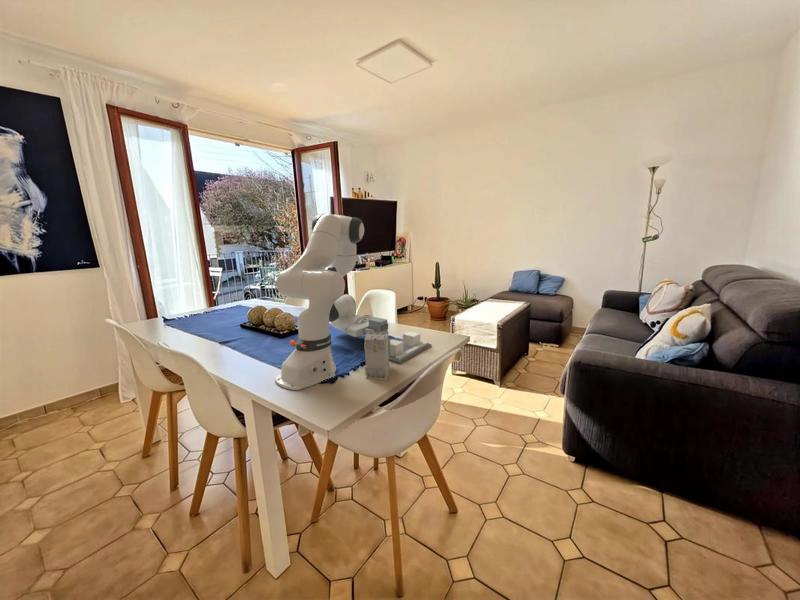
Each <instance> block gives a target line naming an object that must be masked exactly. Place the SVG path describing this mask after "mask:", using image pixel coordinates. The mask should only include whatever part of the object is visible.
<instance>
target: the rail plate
mask: <svg viewBox="0 0 800 600" xmlns="http://www.w3.org/2000/svg"><path fill="white" fill-rule="evenodd" d="M430 346H431V347H432V343H429V341H425V340H424V341H421V333H419V332H413V331H411V330H410V331H407V332H405V333H403V334H402V339H401V340H397V339H392V338H391V339H390V354H391V356H390V359H389V363H390V362H391V363H395V364H398V365H401V364H403V363H404V362H406V361H408V360H410V359H411V358H413V357H415V356H417V355H418V354H420V353H422V352H423V351H425V350H427V349H429V348H431V347H430ZM428 347H429V348H428Z"/></svg>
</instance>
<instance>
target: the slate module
mask: <svg viewBox="0 0 800 600" xmlns="http://www.w3.org/2000/svg"><path fill="white" fill-rule="evenodd" d="M374 317H375V318H372V319H369V329H376V332H388V330H389V323H388V319H387V318H386V319H385V318H382V317H378V316H374ZM377 317H378V318H377ZM388 333H389V332H388Z"/></svg>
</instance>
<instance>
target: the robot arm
mask: <svg viewBox="0 0 800 600" xmlns="http://www.w3.org/2000/svg"><path fill="white" fill-rule="evenodd" d="M364 226H365V225H364V221H363V220H361V218H358V217H356V216H353V217H351V216H348V215H347V216H346V215H343V214H342V215H341V214H333V213H320V214H317V215H315V216H314V217H313V219H312V222H311V230H312V231H311V234H310V236H309V240H308V242H307V245H306V247H305V249H304V251H303V252H302V254H301V255H300V257H299V258H298V259H297V260H296V261H295V262H294V263H293V264H292V265H291V266H289V267H288V268H286V269H284V270H282V271H281V272H279V274H278V275H277V277H276V280H275V281H276V282H275V283H276V284H275V285H276V289H277V291H278V293H279V294H280V295H281V296H282V297H286V298H289V299H293V300H307V301H308V308H306V309H304V310H303V311H301V312H300V313H299V315H298V317H297V329H298V337H297V341H296V340H293V339H291V340H290V341H289V345H290V347H291V346H292V347H295V349H294V350H292V352H291V353H290V354H289V356H288V357H287V358H286V359H285V360H284V361H283V363H282V364H281V372H280V374H278V375H277V376H275V378H274V381H275V384H276V385H278V386H280V387H282V388H284V389H286V390H287V389H288V390H292V391H300V390H303V389H307V388H309V387H311V386H313V385H316V384H319V383H322V382H324V381H323V380H325V379H328V378H331V377H333V378H335V377H336V371H337V367H336V366H337V365H336V364H335V361H334V357H333V353H332V352H333V351H332V334H331V333H330V324H331V326H332V327H333V328H335V329H337V330H340V331H342V332H344V333H347V335H349V336H351V337H353V338H359V337H362V336H364V335H365V336H366V335H367V334H368V332H376V329H369V319H372V318H375V317H377V318H379V317H378V316H372V315H371V314H364V315H356V314H357V304H356V300H355V298H354V297H353V296H352V295H350V294H347V293H345V294H344V292H345V289H346V282H345V279H344V277H345V276H346V275H347V274H349V273H351V271H352V270H353V269H355V267H356V264H357V243H359V242H361V241H362V240H363V236H364V234H365V227H364ZM326 268H327V269H326ZM343 294H344V295H343ZM334 376H335V377H334ZM331 379H332V378H331ZM328 380H329V379H328ZM321 381H322V382H321ZM325 381H326V380H325Z"/></svg>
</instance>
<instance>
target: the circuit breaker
mask: <svg viewBox="0 0 800 600" xmlns="http://www.w3.org/2000/svg"><path fill="white" fill-rule="evenodd" d="M363 340H364V344H363V346H364V349H363V350H364V355H365V357H364V358H365V360H364V361H365V366H364V367H365V369H364V370H365V374H364V375H365V376H366V377H365V379H367V380H387V378H388V374H389V372H390V361H389V359H390V356H391V354H390V340H391V338H390V337H389V332H368V334H365V337H364V339H363Z"/></svg>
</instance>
